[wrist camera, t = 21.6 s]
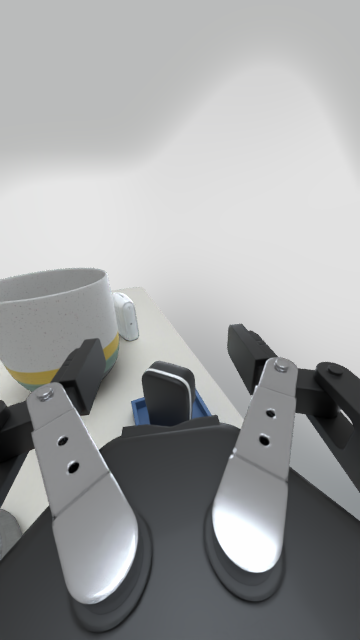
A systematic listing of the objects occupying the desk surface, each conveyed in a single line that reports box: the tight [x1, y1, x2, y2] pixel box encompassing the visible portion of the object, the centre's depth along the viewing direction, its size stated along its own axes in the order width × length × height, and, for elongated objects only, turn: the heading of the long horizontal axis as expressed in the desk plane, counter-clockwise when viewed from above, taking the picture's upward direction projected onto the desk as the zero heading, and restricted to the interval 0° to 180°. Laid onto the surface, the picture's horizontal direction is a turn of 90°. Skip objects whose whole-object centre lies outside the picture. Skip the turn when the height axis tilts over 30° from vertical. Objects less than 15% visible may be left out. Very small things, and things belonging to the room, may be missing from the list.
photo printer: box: [112, 292, 139, 341], centre depth 56 cm, size 10×4×12 cm, turn 40°
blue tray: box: [131, 388, 212, 425], centre depth 31 cm, size 11×11×2 cm
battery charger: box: [142, 361, 195, 427], centre depth 28 cm, size 7×4×11 cm, turn 65°
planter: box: [0, 268, 119, 392], centre depth 37 cm, size 20×20×21 cm
